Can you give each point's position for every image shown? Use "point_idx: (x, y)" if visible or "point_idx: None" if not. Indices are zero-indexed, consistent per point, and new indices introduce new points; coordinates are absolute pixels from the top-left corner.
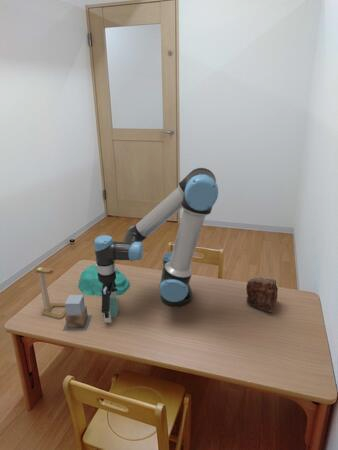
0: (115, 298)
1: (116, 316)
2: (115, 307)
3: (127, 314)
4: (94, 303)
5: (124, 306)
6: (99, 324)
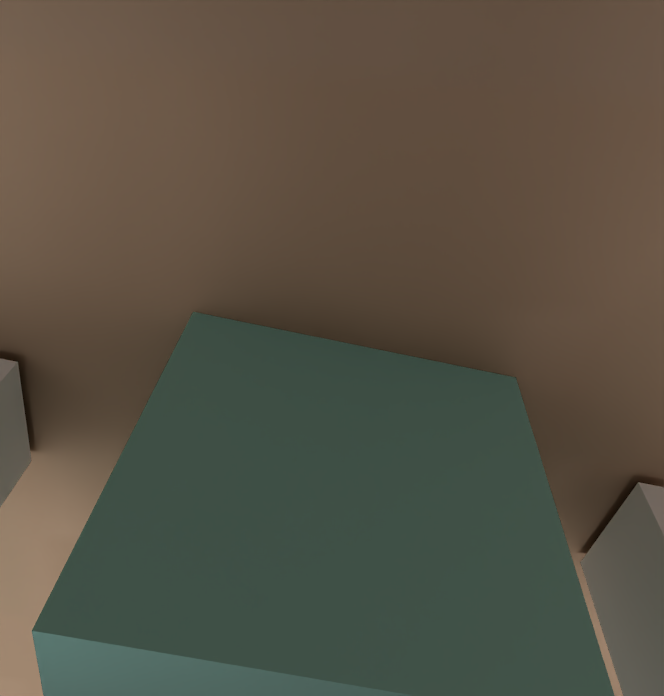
0: (69, 689)
1: (522, 401)
2: (599, 676)
3: (488, 105)
4: (28, 632)
5: (85, 170)
6: (591, 615)
